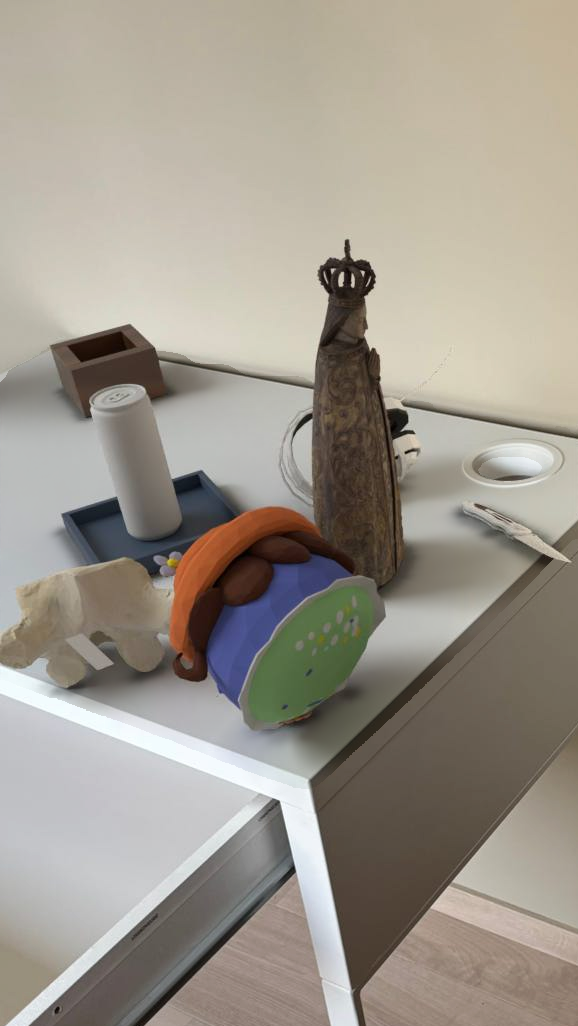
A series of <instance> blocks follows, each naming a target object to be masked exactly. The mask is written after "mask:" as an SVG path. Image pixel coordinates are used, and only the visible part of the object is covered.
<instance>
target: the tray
mask: <svg viewBox="0 0 578 1026" xmlns="http://www.w3.org/2000/svg"><path fill="white" fill-rule="evenodd" d="M171 479H172V482H173V486H174V490H175V493H176V497H177V501H178V505H179V508H180V512H181V516H182V522H181V524H180V526H179V528H178V530H177V531H176V532H175V533H173V534H172V535H170V536H168V537H165V538H162V539H159V540H154V541H142V540H138V539H136V538H134V537H133V536H132V535H130V534H129V533H128V531H127V528H126V524H125V521H124V518H123V515H122V511H121V508H120V505H119V501H118V498H117V495H116V496H113V497H110V498H107V499H104V500H101V501H97V502H94V503H91V504H88V505H85V506H81V507H77V508H75V509H72V510H68V511H66V512H62V513H60V515H61V518H62V521H63V524H64V528H65V530H66V532H67V534H68V535H69V537H70V538H71V540H72V541H73V543H74V545H75V546H76V548H77V550H78V551H79V552H80V554H81V556H82V557H83V559H84V560H85V562H86V563H87V566H90V565H95V564H100V563H105V562H109V561H113V560H117V559H120V558H124V557H126V558H131V559H133V560H134V561H136V562H138V563H140V564H141V565H142V566H144V567H145V568H146V569H147V572H148V574H149V576H151V575H153V574H155V573H158V572H160V569H161V567H162V566H161V565H158V564H157V563H156V562H155V561H154V556H157V555H160V556H163V557H166V558H167V559H168V560H169V555H170V554H171V553H172V552H179V553H181V554H182V556H183V555H184V554H185V553H186V552H187V551H188V549H189V548H190V547H191V546H192V545H193V544H194V542H195V541H196V540H198V539H199V538H200V537H202V536H203V535H204V534H206V533H207V532H209V531H210V530H211V529H213V528H215V527H218V526H220V525H223V524H225V523H229V522H231V521H232V520H234V519H235V518H237V517H239V516H240V515H242V514H243V513H242V512H241V510H240V509H238V508H237V506H236V505H234V503H233V502H232V501H231V500H230V499H229V498H228V496H227V495H225V494H224V492H223V491H222V489H220V488H219V487H218V486H217V485H216V484H215V482H213V480H212V479H211V478H210V477H209V476H208V475H207V474H206V473H205V471H204V470H202V469H199V470H196V471H193V472H190V473H187V474H183V475H180V476H177V477H174V478H171Z"/></svg>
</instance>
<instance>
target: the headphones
mask: <svg viewBox="0 0 578 1026" xmlns="http://www.w3.org/2000/svg"><path fill="white" fill-rule="evenodd" d="M454 347H455V343H453V344H452V346H451V348H450V349H449V352H448V354H447V355H446V357H445V359H444V360H443V362H442V363H441V364H440V366H439V367H438V368H437V369H436V371H435V372H434V373H433V374H431V376H430V377H429V378H427V379H426V380H425V381H424V382H423V383H421V384H420V385H419V386H418V387H416V388H415V389H414V390H413V391H411V392H410V393H408V394H407V395H405V396H404V397H402V398H401V399H398V398H395V397H392V396H387V397H384V402H385V407H386V410H387V417H388V420H389V424H390V432H391V436H392V440H393V447H394V451H395V461H396V465H397V473H398V483H399V484H400V483H401V482H402V481H403V480H404V478H405V477H406V474H407V471H408V470H410V469H411V468H412V467H413V466H414V465H415V464H416V461H417V458H418V457H419V455H420V454H421V453H422V446H421V444H420V441H419V439H418V436H417V434H416V432H415V431H414V429H404V428H405V427H406V426H407V425H408V424H409V423H410V422H409V420H410V419H409V413H408V411H407V409H406V408H405V407H404V405H403V404H402V401H404V400H405V399H407V398H408V397H410V396H411V395H413V394H414V393H416V392H417V391H418V390H420V388H422V387H424V386H425V384H427V383H428V382H429V381H430V380H432V378H433V377H434V376H435V375H436V374H437V373H438V372H439V371H440V370H441V369H442V367H443V366H444V365H445V363H446V361H448V359H449V358H450V355H451V354H452V351H453V349H454ZM311 409H312V410H311ZM306 411H307V412H306ZM301 413H304V414H303V415H302V416H301V417H299V416H300V414H301ZM311 420H313V405H311V406H308V407H306V408H303V409H301V410H298V412H297V413H296V414H295V415H294V416H293V418H292V419H291V420H290V421H289V422H288V423H287V426H286V428H285V430H284V432H283V435H282V438H281V440H280V445H279V448H278V460H277V462H278V463H277V466H278V469H279V473H280V475H281V478H282V481H283V483H284V484H285V486H286V487H287V489H288V490H289V492H290V493H291V494H292V496H294V497H296V499H298V500H299V501H301V502H302V503H304V505H306V506H308V507H310V508H313V509H314V506H313V503H310V502H308V501H306V500H305V499H304V498H302V497H301V496H300V495H298V494H297V492H295V491H294V490H293V489H292V487H291V485H290V484H289V482H288V481H287V480H286V478H285V476H286V477H287V478H288V480H289V481H290V482H291V484H292V486H293V487H294V488H295V489H296V490H298V491H299V492H300V493H301V494H303V495H304V496H306V497H307V498H308V499H310V500H312V501H313V486H312V484H311V483H310V482H308V481H307V480H306V479H305V478H304V476H303V475H302V473H301V472H300V470H299V469H298V466H297V464H296V460H295V458H294V453H293V452H294V451H293V441H294V439H295V436H296V434H297V433H298V432H299V431H300V429H301V428H302V427H304V426H305V424H307V423H308V422H310V421H311ZM291 430H292V431H291ZM290 431H291V435H290V437H289V441H288V445H287V446H288V447H287V452H286V457H287V458H286V459H287V466H288V469H287V466H286V463H285V460H284V444H285V442H286V439H287V437H288V434H289V433H290ZM288 470H289V472H288ZM289 473H290V474H289Z"/></svg>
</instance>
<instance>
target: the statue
mask: <svg viewBox="0 0 578 1026" xmlns="http://www.w3.org/2000/svg"><path fill="white" fill-rule="evenodd" d="M351 251H352V248H351V243H350V239H349V238H346V239H344V246H343V253H344V257H342V258H341V259H339V258H336V257H331V256H329V257H328V259H326V260H325V262H324V264H320V265H319V269H317V275H316V276H317V278H318V279H317V280H318V281H319V283H320V286H323V289H324V291H325V292H326V293H327V294H328V296H327V297H328V299H327V302H328V303H327V308H326V313H325V318H324V324H323V328H322V331H321V333H320V337H319V343H318V347H317V351H316V357H315V363H314V364H315V365H314V383H313V395H312V406H313V408H312V411H313V418H312V423H311V482H312V484H311V486H312V487H313V500H312V505H313V506H314V508H313V518H314V519H313V520H314V525H315V526H316V527H317V528H318V530H319V532H320V534H321V535H322V537H323V538H324V539H325V540H327V541H329V542H330V543H331V545H332V546H333V547H334V548H336V549H339V550H342V551H343V552H344V553H346V554H347V555H348V556H350V557H351V558H352V560H353V562H354V564H355V566H356V567H355V572H354V573H353V576H358V575H360V576H364V577H367V578H370V579H373V580H374V581H375V583H376V586H377V589H378V588H379V587H381V586H383V585H385V584H386V583H387V582H389V580H391V579H392V578H393V577H394V575H395V574H396V573H398V570H399V569H400V567H401V563H402V560H403V559H404V558H405V553H406V549H405V540H404V527H403V515H402V512H403V511H402V501H401V499H402V498H401V490H400V485H399V484H400V483H398V473H397V465H396V461H395V451H394V447H393V440H392V436H391V432H390V424H389V420H388V417H387V410H386V407H385V402H384V398H385V397H384V394H383V390H382V385H381V381H382V376H381V375H380V374H381V356H380V354H379V353H378V352H377V349H376V347H371V348H370V345H369V344H368V341H367V338H366V336H365V334H366V331H367V330H369V324H368V321H367V320H368V319H367V312H368V311H367V310H368V309H367V304H366V297H367V296H368V295H369V293H371V291H372V290H374V289H375V284H377V280H376V278H377V275H376V273H375V270H374V269H373V268H372V266H371V262H370V261H367V260H366V259H363V258H360V259H356V260H354V259H353V258H352V256H351ZM332 270H333V271H332ZM362 272H364V273H362ZM342 273H343V281H342V285H341V286H340V285H339V279H340V275H341V274H342ZM352 276H353V278H354V286H352V283H353V281H352Z"/></svg>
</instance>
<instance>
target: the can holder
mask: <svg viewBox="0 0 578 1026" xmlns="http://www.w3.org/2000/svg"><path fill="white" fill-rule="evenodd" d="M49 348H50V352H51V354H52V357H53V361H54V363H55V367H56V369H57V373H58V376H59V379H60V382H61V386H62V389H63V391H64V393H66V395H67V396H68V397H69V399H70V400H71V401H72V402H73V404H74V405H75V406H76V408H77V409H78V410H79V411H80V412H81V414H82V415H83V417H85V418H89V417H92V414H91V411H90V409H91V404H90V402H89V401H90V398H91V397H92V395H94V394H95V393H96V392H98V391H100V390H102V389H105V388H108V387H111V386H115V385H122V384H136V385H140V386H142V387H144V388H145V390H146V394H147V395H148V396H149V398H150V400H151V399H154V398H158V397H161V396H165V395H167V394H168V391H167V388H166V384H165V380H164V377H163V373H162V369H161V365H160V361H159V357H158V354H157V349H156V347H155V346H154V345H153V344H152V343H151V342H150V341H149V340H148V339H147V338H146V337H145V336H144V335H143V334H141V332H139V330H137V329H136V328H135V327H134V326H133V324H131V323H127V324H124V325H120V326H117V327H113V328H109V329H106V330H105V329H104V330H102V331H98V332H94V333H90V334H87V335H83V336H79V337H76V338H72V339H68V340H64V341H61V342H57V343H52V344H50V345H49Z"/></svg>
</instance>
